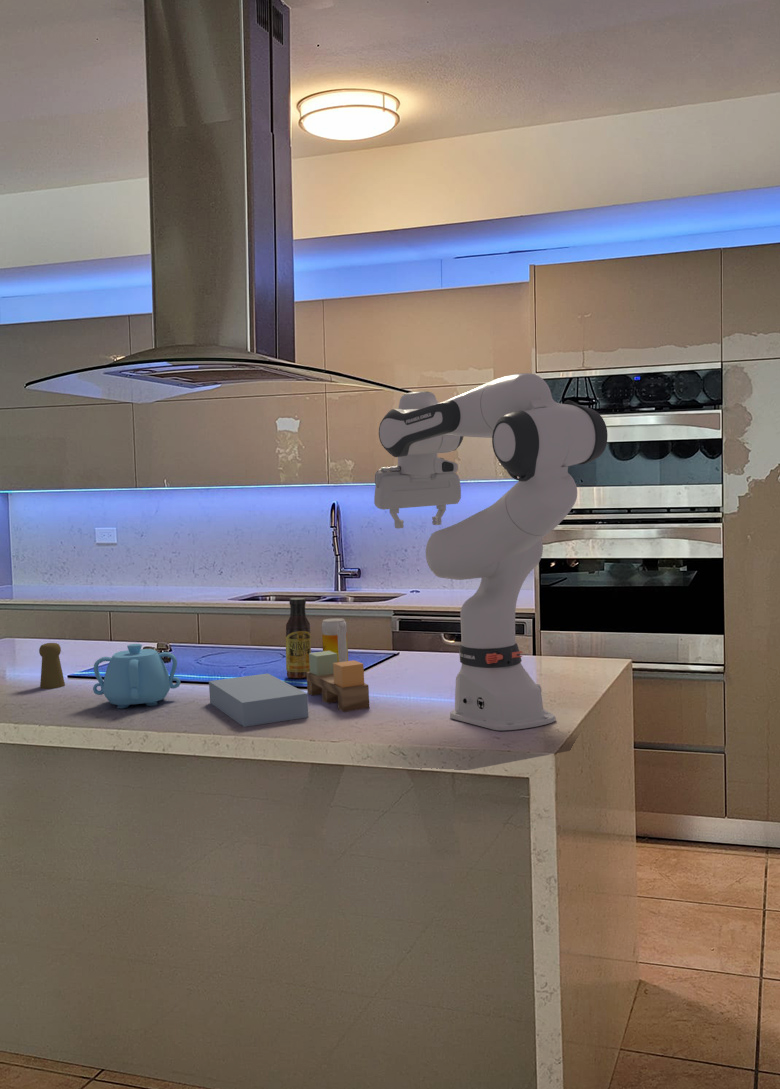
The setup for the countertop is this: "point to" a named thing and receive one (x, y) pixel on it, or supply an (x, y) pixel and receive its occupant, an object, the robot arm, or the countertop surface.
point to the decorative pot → (136, 677)
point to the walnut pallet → (338, 692)
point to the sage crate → (322, 662)
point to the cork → (51, 666)
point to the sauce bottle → (297, 640)
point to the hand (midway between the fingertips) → (418, 526)
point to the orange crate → (348, 673)
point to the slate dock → (258, 699)
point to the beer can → (335, 637)
